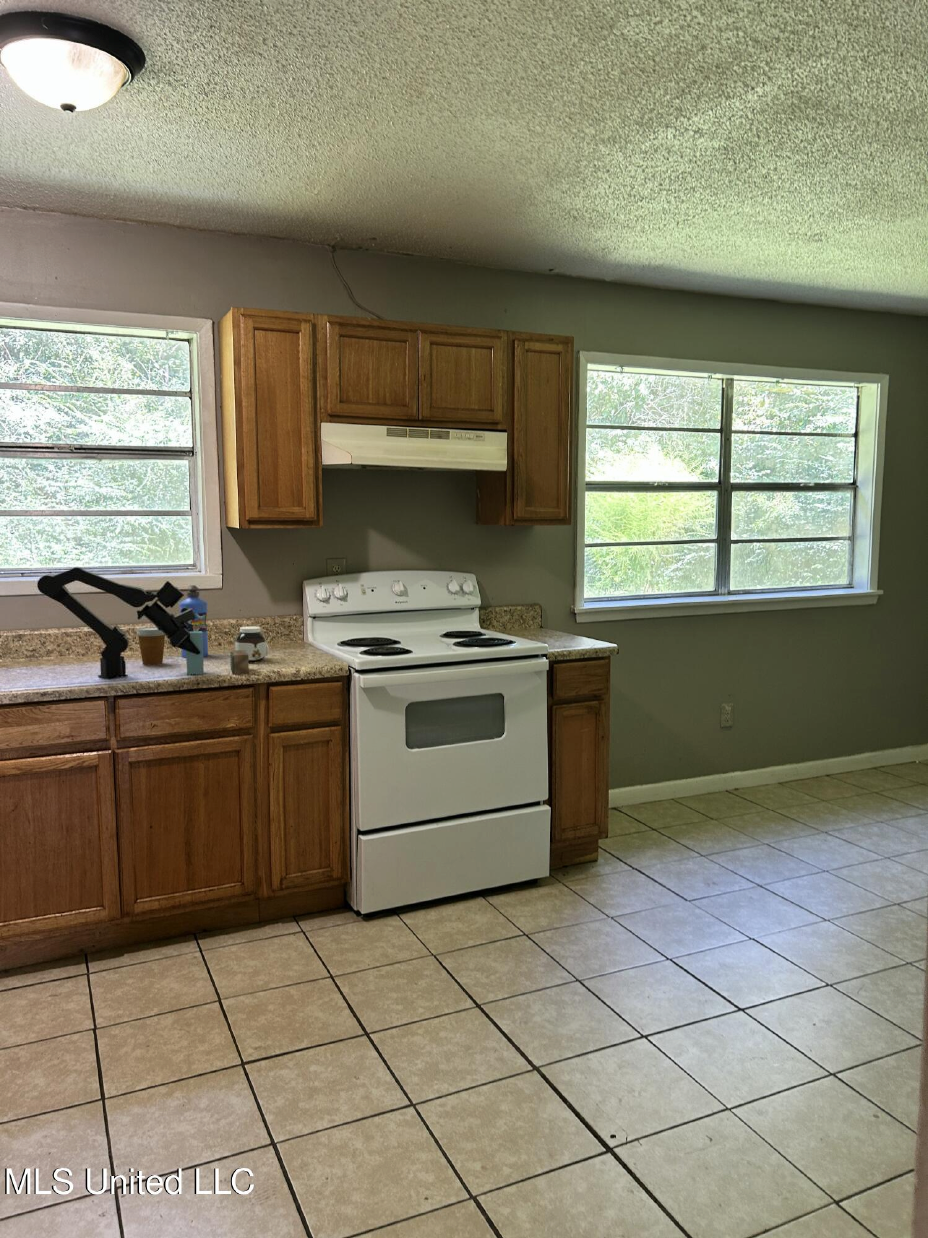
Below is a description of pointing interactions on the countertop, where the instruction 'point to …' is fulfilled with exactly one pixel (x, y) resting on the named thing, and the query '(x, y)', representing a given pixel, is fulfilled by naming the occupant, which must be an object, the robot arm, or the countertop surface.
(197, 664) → the teal block
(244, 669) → the block
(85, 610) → the robot arm
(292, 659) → the countertop surface
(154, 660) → the disposable coffee cup
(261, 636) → the spread jar
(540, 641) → the countertop surface
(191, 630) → the water bottle
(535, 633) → the countertop surface
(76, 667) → the countertop surface
